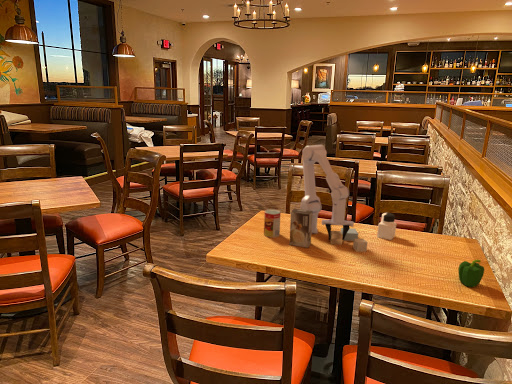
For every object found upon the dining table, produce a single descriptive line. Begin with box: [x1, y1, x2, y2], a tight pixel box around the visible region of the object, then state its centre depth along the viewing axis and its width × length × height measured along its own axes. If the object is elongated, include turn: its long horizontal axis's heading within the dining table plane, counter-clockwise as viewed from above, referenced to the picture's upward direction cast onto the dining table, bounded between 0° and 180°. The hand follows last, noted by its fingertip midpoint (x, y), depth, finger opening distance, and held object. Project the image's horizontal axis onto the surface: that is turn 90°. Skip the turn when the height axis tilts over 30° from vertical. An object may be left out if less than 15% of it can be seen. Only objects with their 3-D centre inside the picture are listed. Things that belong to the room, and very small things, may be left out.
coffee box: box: [289, 208, 312, 248], centre depth 172 cm, size 9×6×16 cm
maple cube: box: [329, 230, 343, 246], centre depth 177 cm, size 5×5×5 cm
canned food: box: [263, 208, 281, 238], centre depth 184 cm, size 8×8×12 cm
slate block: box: [340, 227, 359, 242], centre depth 183 cm, size 7×7×4 cm
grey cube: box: [352, 238, 368, 253], centre depth 169 cm, size 4×4×4 cm
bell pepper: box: [457, 259, 485, 288], centre depth 139 cm, size 8×8×10 cm
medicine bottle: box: [376, 212, 397, 241], centre depth 185 cm, size 7×7×12 cm
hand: (336, 239), depth 177 cm, fingers open, 6 cm apart
